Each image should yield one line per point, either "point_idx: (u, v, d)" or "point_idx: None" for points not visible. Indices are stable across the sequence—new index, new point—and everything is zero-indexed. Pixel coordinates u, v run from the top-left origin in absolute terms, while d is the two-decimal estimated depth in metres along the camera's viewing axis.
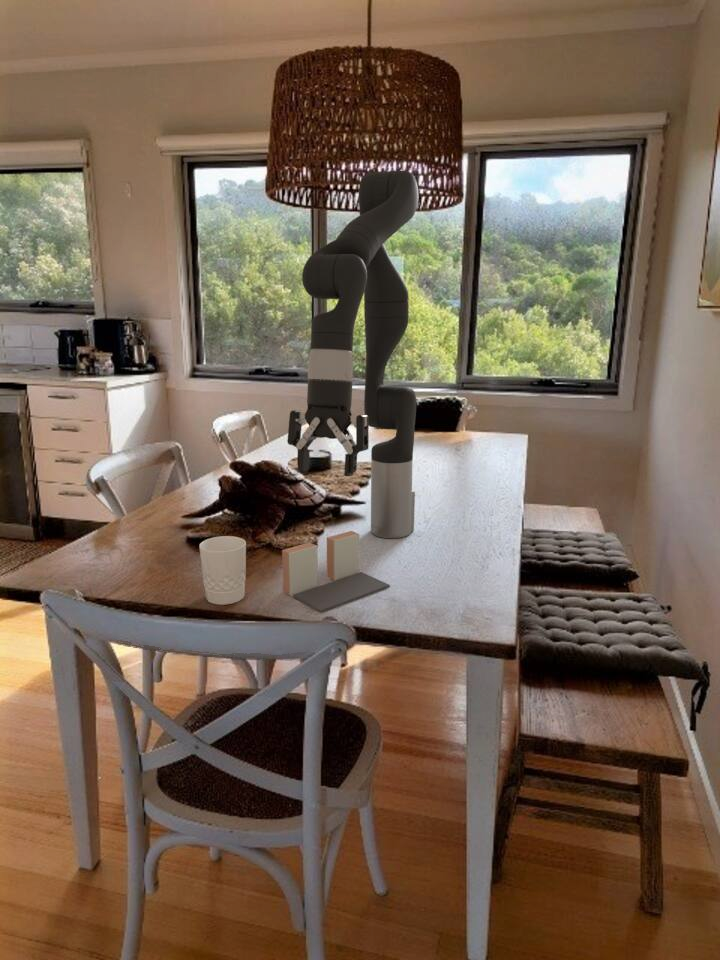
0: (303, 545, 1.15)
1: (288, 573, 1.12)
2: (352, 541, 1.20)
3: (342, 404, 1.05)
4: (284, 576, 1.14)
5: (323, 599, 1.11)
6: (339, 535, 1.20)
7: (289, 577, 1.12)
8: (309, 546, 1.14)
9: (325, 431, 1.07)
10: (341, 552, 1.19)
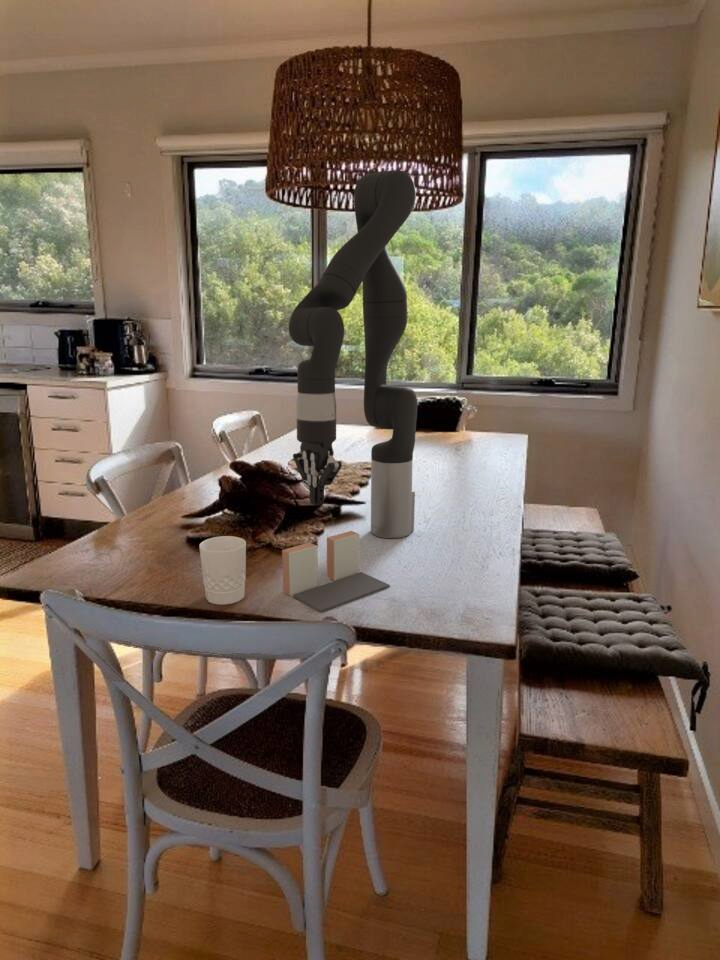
0: (303, 545, 1.15)
1: (288, 573, 1.12)
2: (352, 541, 1.20)
3: (319, 441, 1.18)
4: (284, 576, 1.14)
5: (323, 599, 1.11)
6: (339, 535, 1.20)
7: (289, 577, 1.12)
8: (309, 546, 1.14)
9: None
10: (341, 552, 1.19)
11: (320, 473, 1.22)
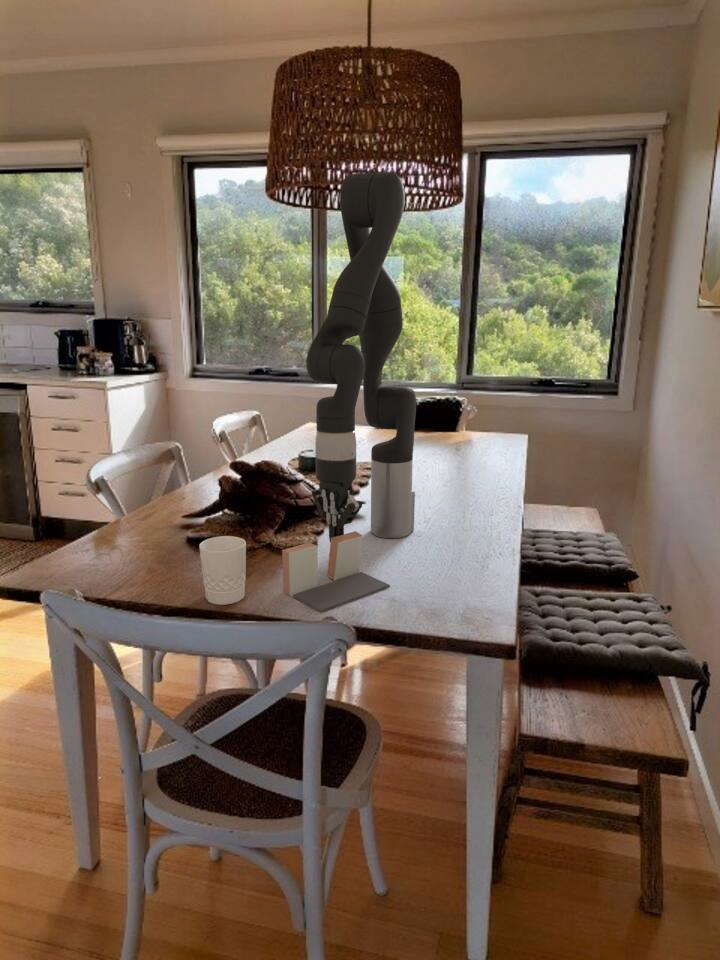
0: (303, 545, 1.15)
1: (288, 573, 1.12)
2: (356, 543, 1.20)
3: (339, 481, 1.15)
4: (284, 576, 1.14)
5: (323, 599, 1.11)
6: (343, 536, 1.19)
7: (289, 577, 1.12)
8: (309, 546, 1.14)
9: None
10: (344, 554, 1.18)
11: (340, 512, 1.19)
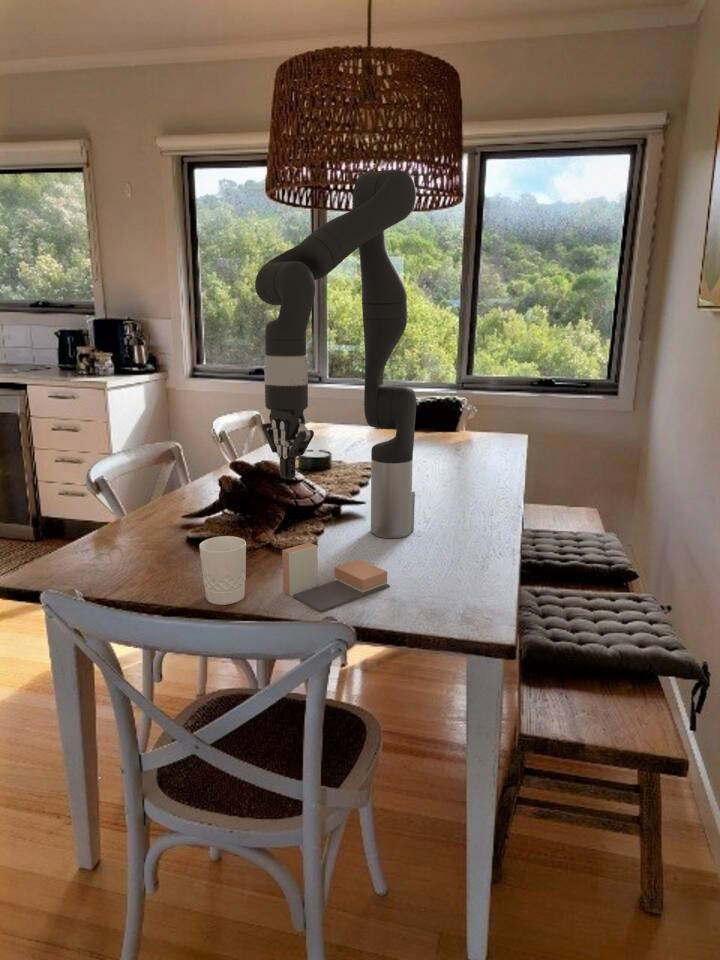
0: (303, 545, 1.15)
1: (288, 573, 1.12)
2: None
3: (289, 408, 1.09)
4: (284, 576, 1.14)
5: (323, 599, 1.11)
6: (373, 579, 1.15)
7: (289, 577, 1.12)
8: (309, 546, 1.14)
9: None
10: None
11: (291, 443, 1.13)
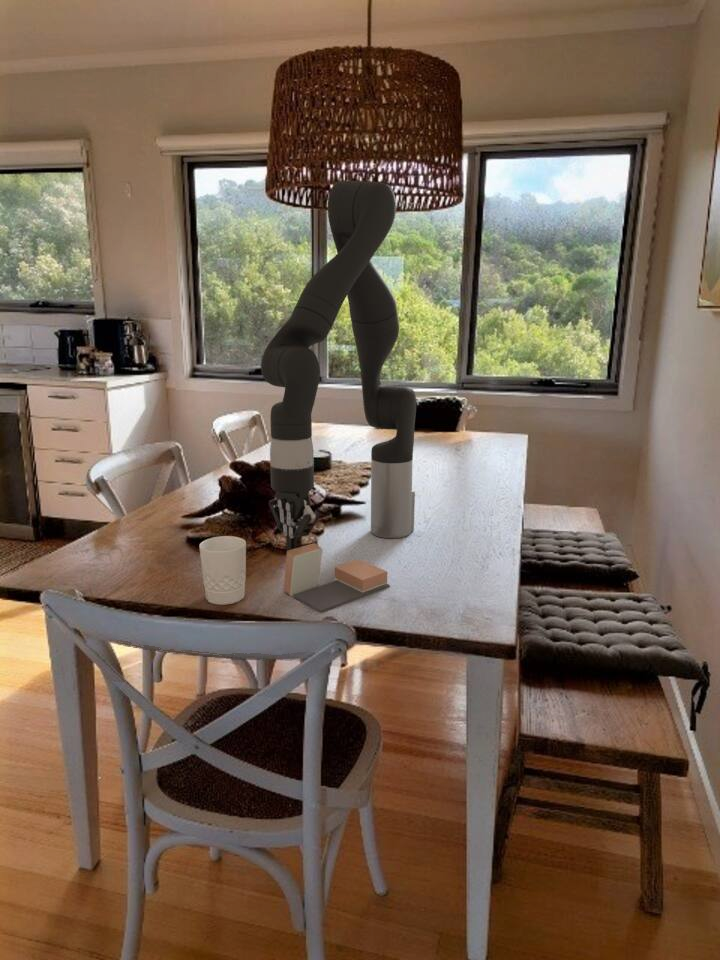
0: (308, 546, 1.14)
1: (290, 574, 1.12)
2: None
3: (295, 491, 1.09)
4: (286, 575, 1.13)
5: (323, 599, 1.11)
6: (373, 579, 1.15)
7: (291, 578, 1.12)
8: (314, 549, 1.13)
9: None
10: None
11: (297, 523, 1.12)
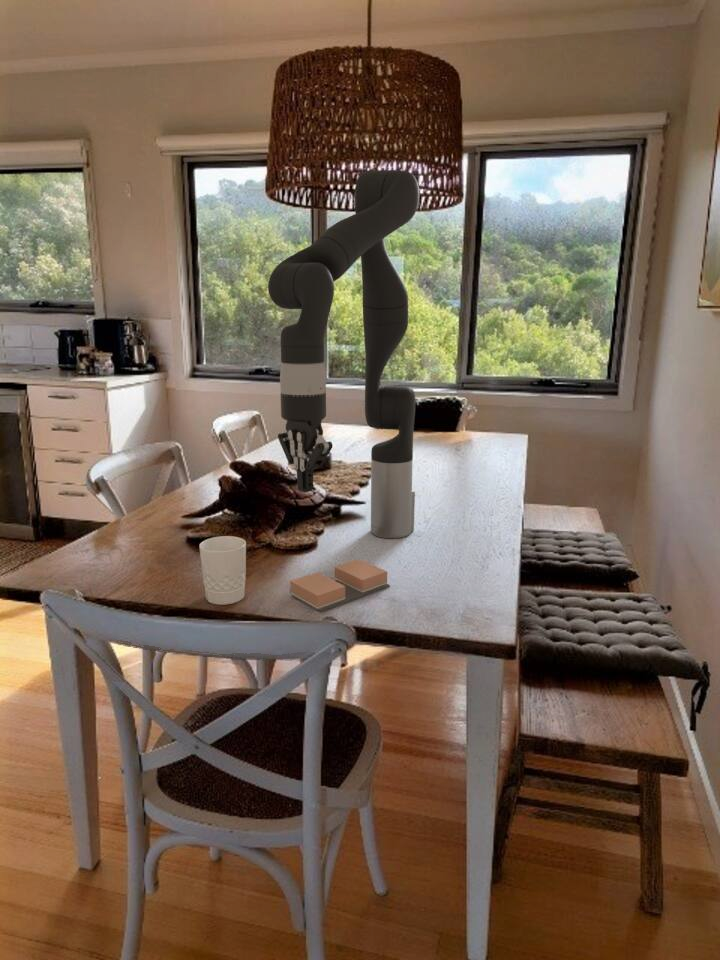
0: (337, 592, 1.09)
1: (304, 597, 1.10)
2: None
3: (306, 419, 1.03)
4: (300, 589, 1.10)
5: None
6: (373, 579, 1.15)
7: (301, 598, 1.11)
8: (339, 598, 1.10)
9: None
10: None
11: (308, 455, 1.07)
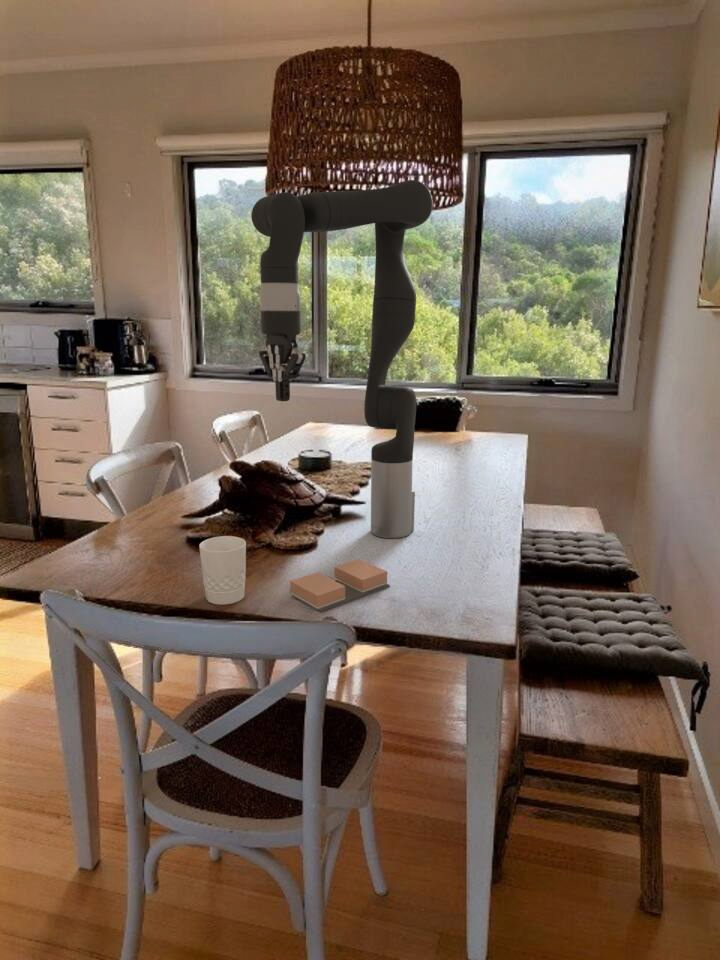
0: (337, 592, 1.09)
1: (304, 597, 1.10)
2: None
3: (283, 332, 1.18)
4: (300, 589, 1.10)
5: None
6: (373, 579, 1.15)
7: (301, 598, 1.11)
8: (339, 598, 1.10)
9: None
10: None
11: (285, 367, 1.21)
